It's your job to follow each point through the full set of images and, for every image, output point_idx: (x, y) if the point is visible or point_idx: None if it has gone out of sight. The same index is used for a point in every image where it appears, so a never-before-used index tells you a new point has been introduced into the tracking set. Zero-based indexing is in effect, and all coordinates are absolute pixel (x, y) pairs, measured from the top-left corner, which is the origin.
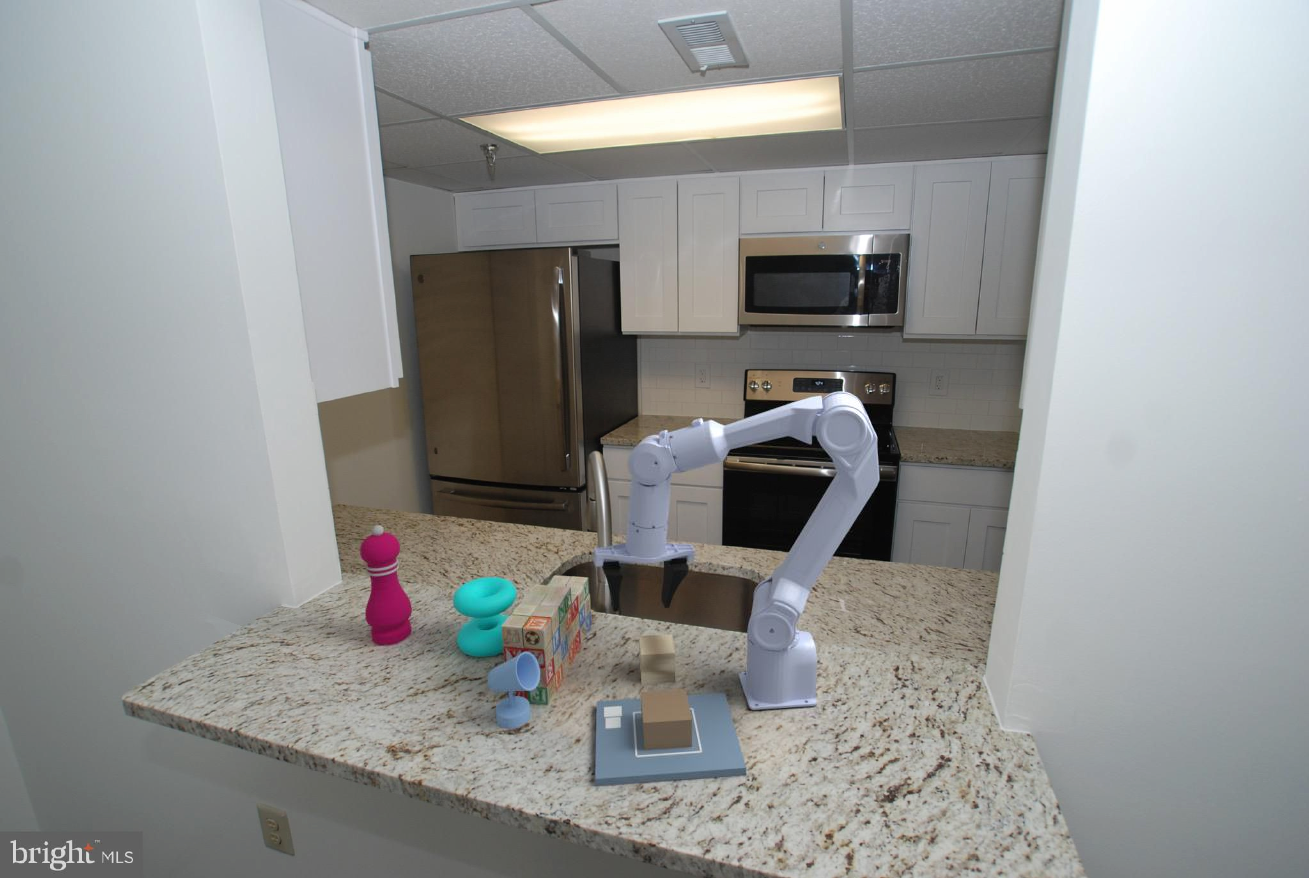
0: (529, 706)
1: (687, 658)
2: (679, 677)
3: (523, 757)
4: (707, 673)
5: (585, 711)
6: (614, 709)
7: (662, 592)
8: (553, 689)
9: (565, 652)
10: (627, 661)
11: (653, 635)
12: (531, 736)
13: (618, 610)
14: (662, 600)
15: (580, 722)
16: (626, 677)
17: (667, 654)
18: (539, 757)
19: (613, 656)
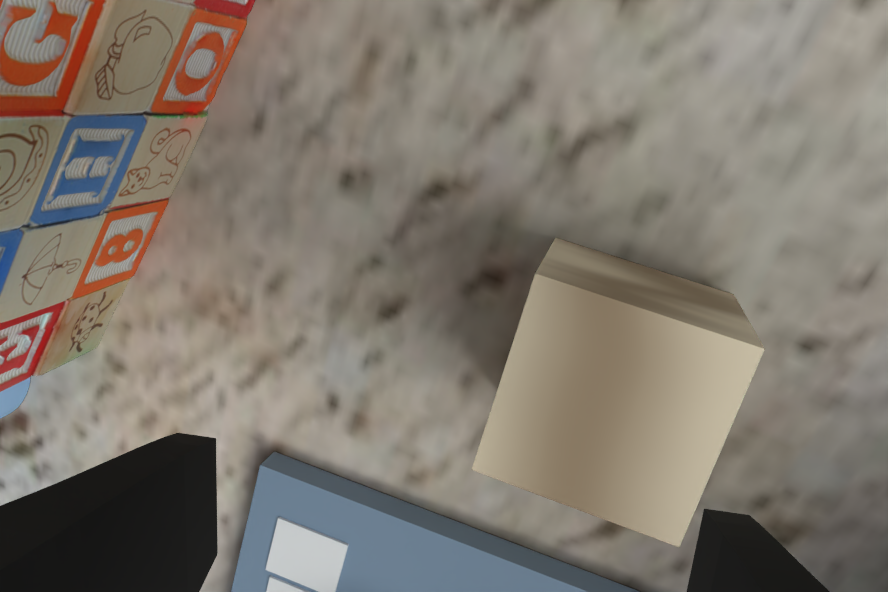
0: None
1: (840, 299)
2: None
3: None
4: (870, 468)
5: (227, 451)
6: (315, 549)
7: (730, 571)
8: (102, 305)
9: (122, 153)
10: (500, 185)
11: (632, 309)
12: (33, 485)
13: (212, 561)
14: (702, 553)
15: None
16: (451, 314)
17: (631, 526)
18: None
19: (442, 108)
